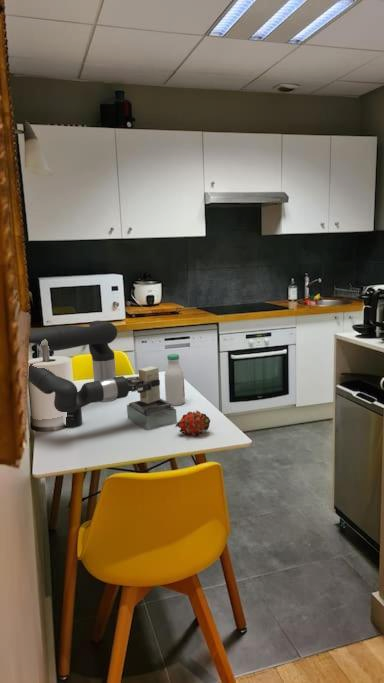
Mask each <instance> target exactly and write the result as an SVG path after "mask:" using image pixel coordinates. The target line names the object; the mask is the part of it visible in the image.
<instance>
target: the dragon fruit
mask: <svg viewBox="0 0 384 683" xmlns="http://www.w3.org/2000/svg"><path fill="white" fill-rule="evenodd" d="M210 423H211V419H210V417H209V416H207V414H206V413H201V412H200V411H198V410H195V411H193V412H192V411H188V412H187V414H183V415H182V417H181V418H180V420H179V421H178V422H177V423H175V424H176V425H175V428H177V427H178V428H179V432H180V433H182V434H187V435H191V434H192V436H193V437H195V436H196V435H201V434H202V433H203V431H204V432H205V431H208V430H209V428H210Z"/></svg>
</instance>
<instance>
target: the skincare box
mask: <svg viewBox="0 0 384 683" xmlns="http://www.w3.org/2000/svg"><path fill="white" fill-rule="evenodd" d="M159 370H160V369H159V367H156V366H153V365H150V366H146V367H142V368H138V377H139V380H143V381H152V380H157V379H158V380H160V373H159ZM140 384H142V383H140ZM160 389H161V388H160V385H159V386H155V387H151V390H148V391H145V392H141V393H139V398H140V399H139V401H141V402H144V403H151V402H154V401H157V400H160V399H161V391H160Z"/></svg>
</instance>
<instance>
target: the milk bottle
mask: <svg viewBox="0 0 384 683" xmlns="http://www.w3.org/2000/svg"><path fill="white" fill-rule="evenodd" d="M167 361H168V362H167V366H166V369H165V372H164V391H165V401H166V402H168V403H170V404H171V407H174V406H181V405H184V404H185V402H186V398H185V397H186V396H185V395H186V394H185V393H186V392H185V376H184V372H183V370H182V367H181V365H180V355H179V354H178V353H177V354H176V353H171V354H167Z"/></svg>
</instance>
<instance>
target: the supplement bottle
mask: <svg viewBox="0 0 384 683" xmlns="http://www.w3.org/2000/svg"><path fill="white" fill-rule="evenodd" d="M82 409H83V408H82V407H81V408H79V409H77V410H75V411H72V412H67V417H66V426H67V427H66V428H76V427H79V426H82V424H83V412H82Z"/></svg>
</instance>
